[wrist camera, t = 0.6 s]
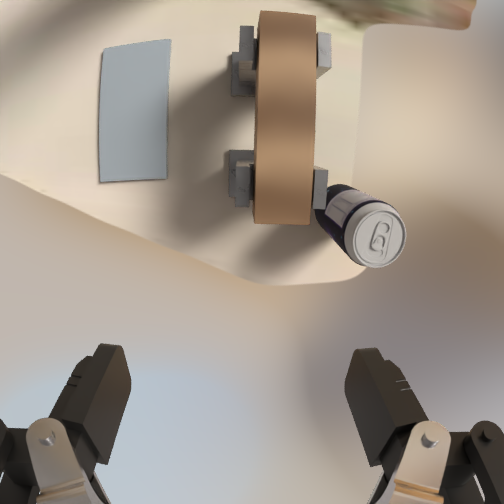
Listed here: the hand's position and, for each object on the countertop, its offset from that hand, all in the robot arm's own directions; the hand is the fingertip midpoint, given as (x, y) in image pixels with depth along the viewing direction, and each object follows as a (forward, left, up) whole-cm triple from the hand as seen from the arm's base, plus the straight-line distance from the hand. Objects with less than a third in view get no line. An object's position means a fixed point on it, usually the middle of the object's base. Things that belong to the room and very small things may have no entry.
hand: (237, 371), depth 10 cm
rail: (-10, +3, -18) cm, 20 cm away
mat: (-12, -12, -26) cm, 30 cm away
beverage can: (-1, +11, -26) cm, 28 cm away
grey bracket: (-4, +3, -26) cm, 26 cm away
